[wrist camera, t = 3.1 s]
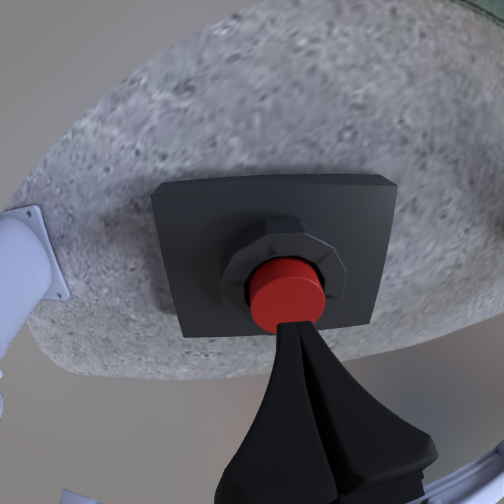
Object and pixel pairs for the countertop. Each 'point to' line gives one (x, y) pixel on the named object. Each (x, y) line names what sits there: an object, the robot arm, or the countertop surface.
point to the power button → (285, 293)
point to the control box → (272, 244)
